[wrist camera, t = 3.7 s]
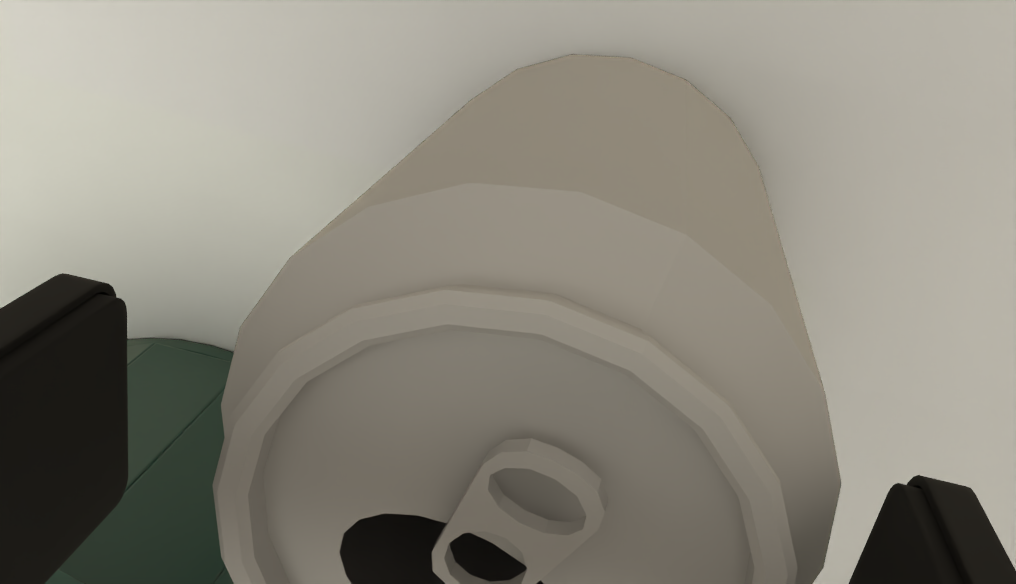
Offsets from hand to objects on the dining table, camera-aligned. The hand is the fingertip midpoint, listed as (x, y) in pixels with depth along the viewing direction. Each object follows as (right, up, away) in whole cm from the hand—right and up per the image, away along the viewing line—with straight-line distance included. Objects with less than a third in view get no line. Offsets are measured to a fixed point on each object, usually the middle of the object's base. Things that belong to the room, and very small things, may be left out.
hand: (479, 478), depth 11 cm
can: (+2, +4, +9) cm, 11 cm away
